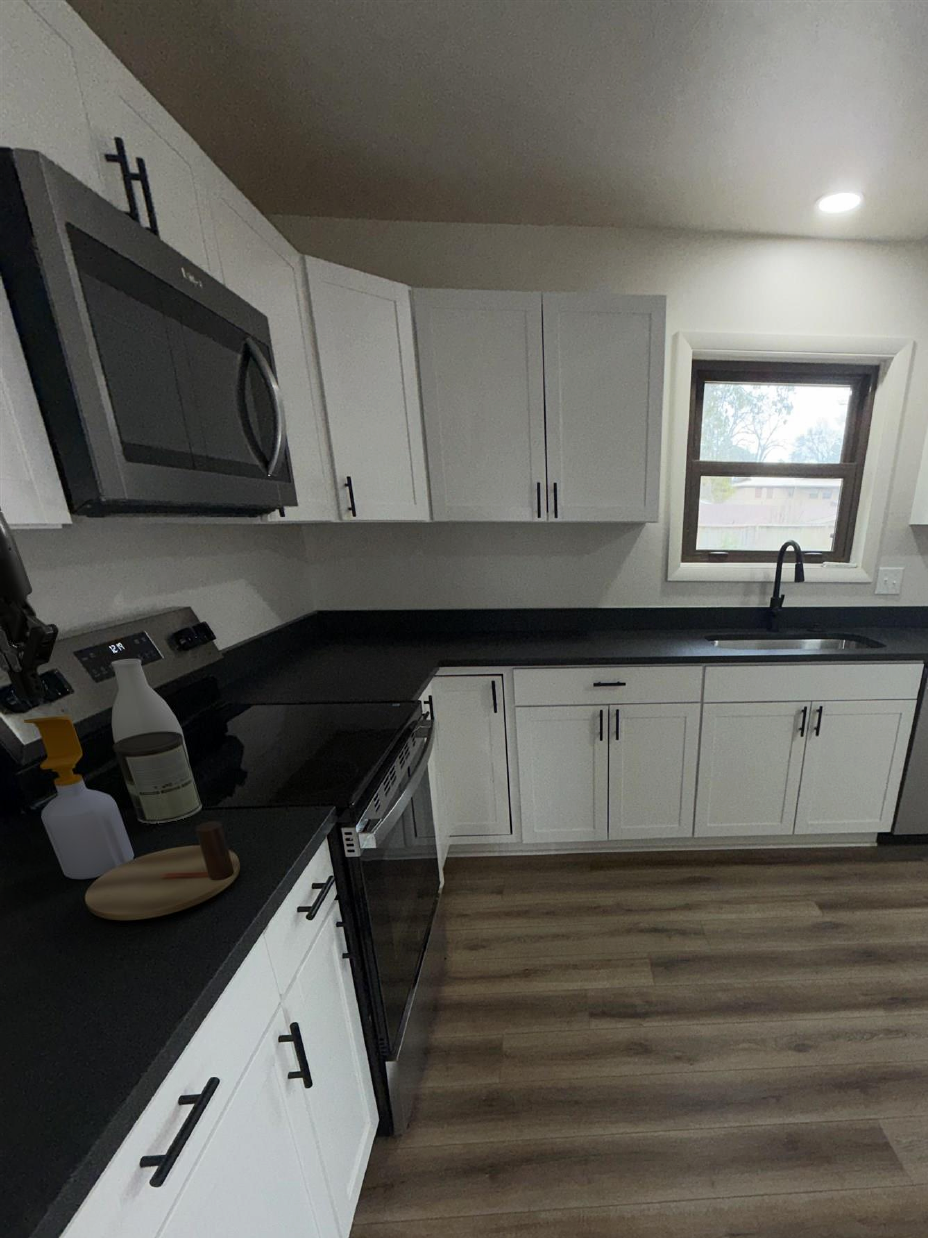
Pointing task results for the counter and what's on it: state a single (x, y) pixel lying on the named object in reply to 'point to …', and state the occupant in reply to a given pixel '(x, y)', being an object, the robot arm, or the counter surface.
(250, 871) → the counter surface
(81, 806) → the soap bottle
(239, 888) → the counter surface
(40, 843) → the counter surface
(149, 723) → the bottle
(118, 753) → the coffee can
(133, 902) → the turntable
